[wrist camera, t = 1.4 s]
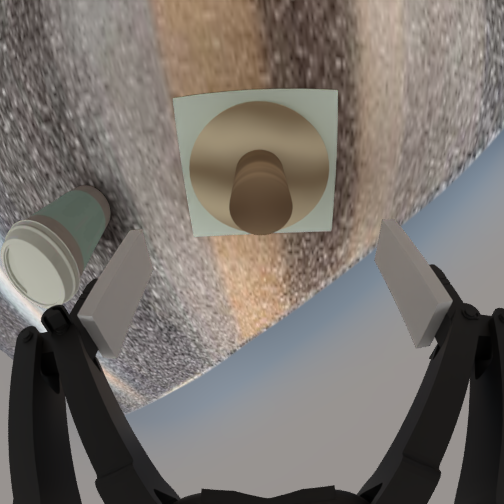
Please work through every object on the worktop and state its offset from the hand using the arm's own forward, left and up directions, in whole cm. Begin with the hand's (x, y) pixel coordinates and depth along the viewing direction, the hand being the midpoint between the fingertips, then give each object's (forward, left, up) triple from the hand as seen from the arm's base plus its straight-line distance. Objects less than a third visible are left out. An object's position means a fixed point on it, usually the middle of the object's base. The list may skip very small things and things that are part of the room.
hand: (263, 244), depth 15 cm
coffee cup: (+3, -19, -13) cm, 23 cm away
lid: (0, 0, -12) cm, 12 cm away
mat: (0, 0, -13) cm, 13 cm away
